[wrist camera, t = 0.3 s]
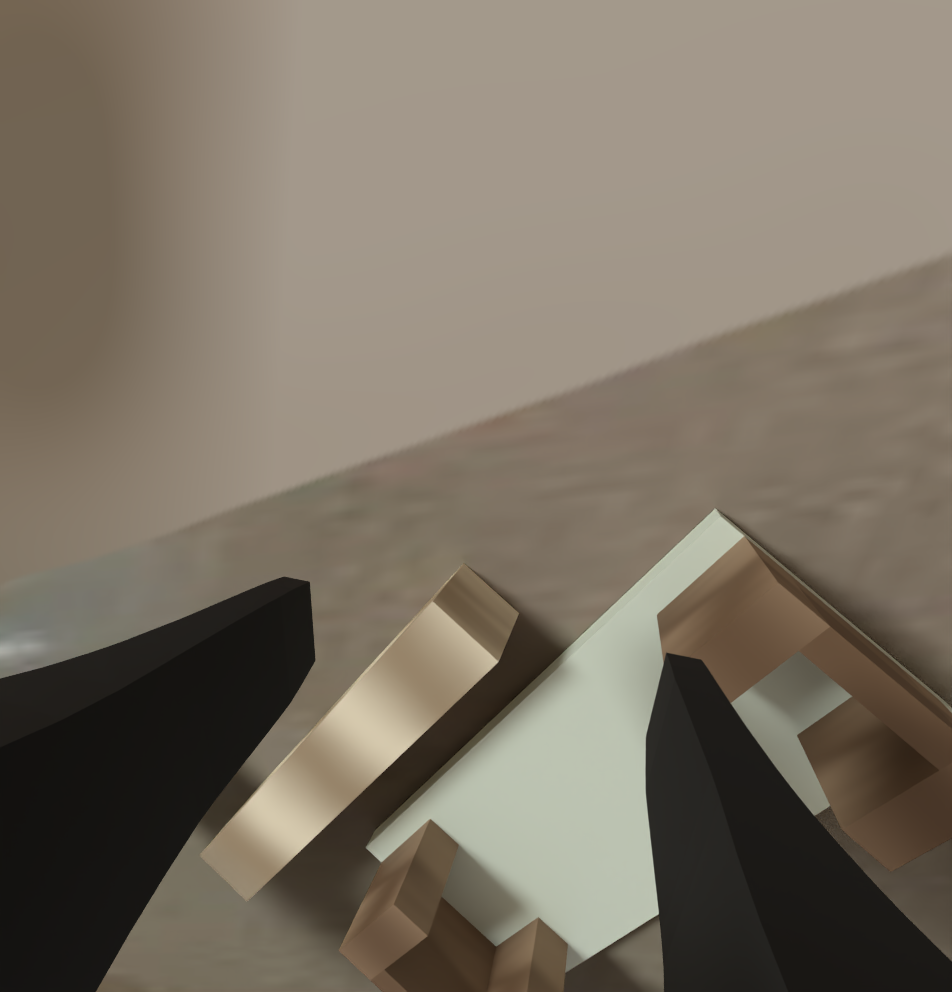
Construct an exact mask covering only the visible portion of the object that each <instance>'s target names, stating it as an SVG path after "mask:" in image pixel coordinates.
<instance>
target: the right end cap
mask: <svg viewBox="0 0 952 992" xmlns="http://www.w3.org/2000/svg"><path fill="white" fill-rule="evenodd" d="M657 621H658V628H659V635H660V642H661V649H662V656H663V663H664V660H665V656H666V653H671V654H676V655H681V656H686V657H691V658H696V659H701V660H702V661H703V662H704V664H705V665H706V666H707V668H708V669H709V671H710V672H711V674H712V675H713V677H714V679H715V680H716V682H717V683H718V685H719V686H720V688H721V689H722V691H723V692H724V694H725V695H726V697H727V698H728V700H729V701H730V703H732V702H733V701H734V700H735V699H737V698H738V697H739V696H741V695H742V694H743V693H745V692H746V691H747V690H748V689H750V688H751V687H752V686H754V685H755V684H756V683H758V682H759V681H760V680H761V679H763V678H764V677H765V676H767V675H768V674H769V673H771V672H772V671H773V670H774V669H776V668H777V667H778V666H780V665H781V664H782V663H784V662H785V661H786V660H787V659H789V658H790V657H791V656H793V655H794V654H795V653H797V652H798V651H799V652H801V653H802V654H803V655H804V656H805V657H806V658H808V659H809V660H810V661H811V662H812V663H813V664H815V665H816V666H817V667H818V668H819V669H821V670H822V671H823V672H824V673H825V674H826V675H828V676H829V677H830V678H831V679H832V680H834V681H835V682H836V683H837V684H838V685H839V686H841V687H842V688H843V689H844V690H845V691H846V692H848V693H849V694H850V695H851V696H852V697H851V698H849V699H848V700H846V701H845V702H843V703H842V704H841V705H839V706H838V707H836V708H835V709H834V710H832V711H831V712H829V713H828V714H826V715H825V716H824V717H822V718H821V719H819V720H818V721H816V722H815V723H814V724H812V725H811V726H809V727H808V728H806V729H805V730H804V731H802V732H801V733H799V734H798V735H797V737H798V739H799V741H800V743H801V745H802V747H803V749H804V751H805V754H806V756H807V758H808V760H809V762H810V764H811V766H812V768H813V770H814V772H815V775H816V777H817V779H818V781H819V783H820V785H821V787H822V789H823V791H824V793H825V796H826V798H827V800H828V802H829V804H830V806H831V808H832V810H833V812H834V814H835V817H836V819H837V821H838V823H839V825H840V827H841V829H842V830H843V831H844V832H845V833H846V834H847V835H849V836H850V837H851V838H852V839H853V840H854V841H855V842H857V843H858V844H859V845H860V846H861V847H862V848H864V849H865V850H866V851H867V852H868V853H869V854H870V855H872V856H873V857H874V858H875V859H876V860H877V861H879V862H880V863H881V864H882V865H883V866H884V867H885V868H887V869H888V870H889V871H890V872H891V871H893V870H895V869H897V868H899V867H901V866H902V865H904V864H906V863H908V862H910V861H911V860H913V859H915V858H917V857H919V856H920V855H922V854H924V853H926V852H928V851H929V850H931V849H933V848H935V847H937V846H939V845H940V844H942V843H944V842H946V841H948V840H949V839H951V838H952V713H951V712H950V711H949V710H948V708H947V707H946V706H945V705H944V704H943V703H942V702H941V701H940V700H939V699H938V698H936V697H935V696H934V695H933V694H932V693H930V692H929V691H928V690H927V689H926V688H924V687H923V686H922V685H921V684H920V683H919V682H917V681H916V680H915V679H914V678H913V677H911V676H910V675H909V674H908V673H907V672H905V671H904V670H903V669H902V668H901V667H900V666H898V665H897V664H896V663H895V662H894V661H892V660H891V659H890V658H889V657H888V656H886V655H885V654H884V653H883V652H882V651H880V650H879V649H878V648H877V647H876V646H875V645H873V644H872V643H871V642H870V641H869V640H867V639H866V638H865V637H864V636H863V635H861V634H860V633H859V632H858V631H857V630H855V629H854V628H853V627H852V626H851V625H850V624H848V623H847V622H846V621H845V620H844V619H842V618H841V617H840V616H839V615H838V614H836V613H835V612H834V611H833V610H832V609H831V608H829V607H828V606H827V605H826V604H825V603H823V602H822V601H821V600H820V599H819V598H817V597H816V596H815V595H814V594H813V593H811V592H810V591H809V590H808V589H807V588H806V587H804V586H803V585H802V584H801V583H800V582H798V581H797V580H796V579H795V578H794V577H792V576H791V575H790V574H789V573H788V572H787V571H785V570H784V569H783V568H782V567H781V566H779V565H778V564H777V563H776V562H775V561H773V560H772V559H771V558H770V557H769V556H767V555H766V554H765V553H764V552H763V551H762V550H760V549H759V548H758V547H757V546H756V545H754V544H753V543H752V542H751V541H750V540H748V539H747V538H746V537H745V536H744V537H743V538H742V539H740V540H739V541H738V542H737V543H736V544H735V545H734V546H733V547H732V548H730V549H729V550H728V551H727V552H726V553H725V554H724V555H723V556H722V557H720V558H719V559H718V560H717V561H716V562H715V563H714V564H713V565H712V566H710V567H709V568H708V569H707V570H706V571H705V572H704V573H703V574H702V575H700V576H699V577H698V578H697V579H696V580H695V581H694V582H693V583H691V584H690V585H689V586H688V587H687V588H686V589H685V590H684V591H683V592H681V593H680V594H679V595H678V596H677V597H676V598H675V599H674V600H673V601H671V602H670V603H669V604H668V605H667V606H666V607H665V608H664V609H663V610H661V611H660V612H659V613H658V614H657Z"/></svg>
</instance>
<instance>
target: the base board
mask: <svg viewBox="0 0 952 992" xmlns="http://www.w3.org/2000/svg"><path fill="white" fill-rule="evenodd" d="M744 536H745V537H746V538H747V539H748V540H750V541H751V542H752V543H753V544H754V545H756V546H757V547H758V548H759V549H760V550H762V551H763V552H764V553H765V554H766V555H767V556H769V557H770V558H771V559H772V560H773V561H775V562H776V563H777V564H778V565H779V566H781V567H782V568H783V569H784V570H785V571H787V572H788V573H789V574H790V575H791V576H792V577H794V578H795V579H796V580H797V581H798V582H800V583H801V584H802V585H803V586H804V587H806V588H807V589H808V590H809V591H810V592H811V593H813V594H814V595H815V596H816V597H817V598H819V599H820V600H821V601H822V602H823V603H825V604H826V605H827V606H828V607H829V608H831V609H832V610H833V611H834V612H835V613H836V614H838V615H839V616H840V617H841V618H842V619H844V620H845V621H846V622H847V623H848V624H850V625H851V626H852V627H853V628H854V629H855V630H857V631H858V632H859V633H860V634H861V635H863V636H864V637H865V638H866V639H867V640H869V641H870V642H871V643H872V644H873V645H875V646H876V647H877V648H878V649H879V650H880V651H882V652H883V653H884V654H885V655H886V656H888V657H889V658H890V659H891V660H892V661H894V662H895V663H896V664H897V665H898V666H900V667H901V668H902V669H903V670H904V671H905V672H907V673H908V674H909V675H910V676H911V677H913V678H914V679H915V680H916V681H917V682H919V683H920V684H921V685H922V686H923V687H924V688H926V689H927V690H928V691H929V692H930V693H932V694H933V695H934V696H935V697H936V698H938V699H939V700H940V701H941V702H942V703H943V704H944V705H945V706H946V707H947V708H948V710H949V711H950V712H951V713H952V708H951V707H950V706H949V705H948V704H947V703H946V702H945V701H944V700H943V699H942V698H940V697H939V696H938V695H937V694H936V693H935V692H933V691H932V690H931V689H930V688H929V687H927V686H926V685H925V684H924V683H923V682H921V681H920V680H919V679H918V678H917V677H915V676H914V675H913V674H912V673H911V672H910V671H908V670H907V669H906V668H905V667H904V666H902V665H901V664H900V663H899V662H898V661H896V660H895V659H894V658H893V657H892V656H890V655H889V654H888V653H887V652H886V651H885V650H883V649H882V648H881V647H880V646H879V645H877V644H876V643H875V642H874V641H873V640H871V639H870V638H869V637H868V636H867V635H865V634H864V633H863V632H862V631H861V630H860V629H858V628H857V627H856V626H855V625H854V624H852V623H851V622H850V621H849V620H848V619H846V618H845V617H844V616H843V615H842V614H840V613H839V612H838V611H837V610H836V609H835V608H833V607H832V606H831V605H830V604H829V603H827V602H826V601H825V600H824V599H823V598H821V597H820V596H819V595H818V594H817V593H815V592H814V591H813V590H812V589H811V588H810V587H808V586H807V585H806V584H805V583H804V582H802V581H801V580H800V579H799V578H798V577H796V576H795V575H794V574H793V573H792V572H791V571H789V570H788V569H787V568H786V567H785V566H783V565H782V564H781V563H780V562H779V561H777V560H776V559H775V558H774V557H773V556H771V555H770V554H769V553H768V552H767V551H766V550H764V549H763V548H762V547H761V546H760V545H758V544H757V543H756V542H755V541H754V540H752V539H751V538H750V537H749V536H748V535H746V534H745V533H744V532H743V531H742V530H741V529H739V528H738V527H737V526H736V525H735V524H733V523H732V522H731V521H730V520H729V519H727V518H726V517H725V516H724V515H723V514H721V513H720V512H719V511H718V510H717V509H716V508H715V509H714V510H713V511H712V512H711V513H710V514H709V515H708V516H707V517H706V518H705V519H704V520H703V521H702V522H701V523H700V524H698V525H697V526H696V527H695V528H694V529H693V530H692V531H691V532H690V533H689V534H688V535H687V536H686V537H685V538H684V539H683V540H682V541H681V542H679V543H678V544H677V545H676V546H675V547H674V548H673V549H672V550H671V551H670V552H669V553H668V554H667V555H666V556H665V557H664V558H663V559H661V560H660V561H659V562H658V563H657V564H656V565H655V566H654V567H653V568H652V569H651V570H650V571H649V572H648V573H647V574H646V575H645V576H643V577H642V578H641V579H640V580H639V581H638V582H637V583H636V584H635V585H634V586H633V587H632V588H631V589H630V590H629V591H628V592H627V593H625V594H624V595H623V596H622V597H621V598H620V599H619V600H618V601H617V602H616V603H615V604H614V605H613V606H612V607H611V608H610V609H609V610H608V611H606V612H605V613H604V614H603V615H602V616H601V617H600V618H599V619H598V620H597V621H596V622H595V623H594V624H593V625H592V626H591V627H590V628H588V629H587V630H586V631H585V632H584V633H583V634H582V635H581V636H580V637H579V638H578V639H577V640H576V641H575V642H574V643H573V644H572V645H570V646H569V647H568V648H567V649H566V650H565V651H564V652H563V653H562V654H561V655H560V656H559V657H558V658H557V659H556V660H555V661H554V662H553V663H551V664H550V665H549V666H548V667H547V668H546V669H545V670H544V671H543V672H542V673H541V674H540V675H539V676H538V677H537V678H536V679H535V680H533V681H532V682H531V683H530V684H529V685H528V686H527V687H526V688H525V689H524V690H523V691H522V692H521V693H520V694H519V695H518V696H517V697H515V698H514V699H513V700H512V701H511V702H510V703H509V704H508V705H507V706H506V707H505V708H504V709H503V710H502V711H501V712H500V713H499V714H497V715H496V716H495V717H494V718H493V719H492V720H491V721H490V722H489V723H488V724H487V725H486V726H485V727H484V728H483V729H482V730H481V731H480V732H478V733H477V734H476V735H475V736H474V737H473V738H472V739H471V740H470V741H469V742H468V743H467V744H466V745H465V746H464V747H463V748H462V749H460V750H459V751H458V752H457V753H456V754H455V755H454V756H453V757H452V758H451V759H450V760H449V761H448V762H447V763H446V764H445V765H444V766H442V767H441V768H440V769H439V770H438V771H437V772H436V773H435V774H434V775H433V776H432V777H431V778H430V779H429V780H428V781H427V782H426V783H424V784H423V785H422V786H421V787H420V788H419V789H418V790H417V791H416V792H415V793H414V794H413V795H412V796H411V797H410V798H409V799H408V800H407V801H405V802H404V803H403V804H402V805H401V806H400V807H399V808H398V809H397V810H396V811H395V812H394V813H393V814H392V815H391V816H390V817H389V818H387V819H386V820H385V821H384V822H383V823H382V824H381V825H380V826H379V827H378V828H377V829H376V830H375V831H374V833H373V835H372V837H371V839H370V841H369V842H368V844H367V846H366V849H367V850H369V851H370V852H371V853H372V854H373V855H374V856H375V857H376V858H377V859H378V860H379V861H381V862H382V861H384V860H385V859H386V858H387V857H388V856H389V855H390V854H391V853H392V852H394V851H395V850H396V849H397V848H398V847H399V846H400V845H401V844H402V843H404V842H405V841H406V840H407V839H408V838H409V837H410V836H411V835H412V834H414V833H415V832H416V831H417V830H418V829H419V828H420V827H421V826H422V825H424V824H425V823H426V822H427V821H428V820H429V819H431V820H432V821H433V822H435V823H436V824H437V825H438V826H439V827H440V828H441V829H442V830H443V831H444V832H445V833H447V834H448V835H449V836H450V837H451V838H452V839H453V840H454V841H455V842H456V843H458V844H459V847H458V849H457V852H456V855H455V858H454V861H453V864H452V867H451V870H450V873H449V876H448V879H447V882H446V885H445V888H444V890H443V893H442V897H443V898H444V899H445V900H446V901H447V902H448V903H449V904H450V905H451V906H453V907H454V908H455V909H456V910H457V911H458V912H459V913H460V914H461V915H462V916H463V917H465V918H466V919H467V920H468V921H469V922H470V923H471V924H472V925H473V926H474V927H475V928H476V929H478V930H479V931H480V932H481V933H482V934H483V935H484V936H485V937H486V938H487V939H488V940H490V941H491V942H492V943H493V944H494V945H495V946H498V945H499V944H501V943H502V942H503V941H505V940H506V939H508V938H509V937H511V936H512V935H513V934H515V933H516V932H518V931H519V930H521V929H522V928H523V927H525V926H526V925H528V924H529V923H531V922H532V921H533V920H535V919H536V918H538V917H539V918H540V919H541V920H542V921H543V922H544V923H545V924H547V925H548V926H549V927H550V928H551V929H552V930H553V931H554V932H555V933H556V934H557V935H559V936H560V937H561V938H562V939H563V940H564V941H565V942H566V943H567V944H568V949H567V960H566V971H565V973H566V972H567V971H569V970H571V969H572V968H574V967H575V966H577V965H579V964H580V963H582V962H583V961H585V960H586V959H588V958H590V957H591V956H593V955H594V954H596V953H598V952H599V951H601V950H602V949H604V948H606V947H607V946H609V945H610V944H612V943H613V942H615V941H617V940H618V939H620V938H621V937H623V936H625V935H626V934H628V933H629V932H631V931H632V930H634V929H636V928H637V927H639V926H640V925H642V924H644V923H645V922H647V921H648V920H650V919H652V918H653V917H655V916H656V915H658V914H659V910H658V901H657V892H656V883H655V874H654V865H653V856H652V847H651V839H650V829H649V820H648V811H647V801H646V776H645V763H646V734H647V730H648V725H649V721H650V717H651V713H652V709H653V705H654V701H655V697H656V693H657V689H658V684H659V680H660V676H661V672H662V668H663V664H664V663H663V656H662V649H661V642H660V635H659V628H658V621H657V614H658V613H659V612H660V611H661V610H663V609H664V608H665V607H666V606H667V605H668V604H669V603H670V602H671V601H673V600H674V599H675V598H676V597H677V596H678V595H679V594H680V593H681V592H683V591H684V590H685V589H686V588H687V587H688V586H689V585H690V584H691V583H693V582H694V581H695V580H696V579H697V578H698V577H699V576H700V575H702V574H703V573H704V572H705V571H706V570H707V569H708V568H709V567H710V566H712V565H713V564H714V563H715V562H716V561H717V560H718V559H719V558H720V557H722V556H723V555H724V554H725V553H726V552H727V551H728V550H729V549H730V548H732V547H733V546H734V545H735V544H736V543H737V542H738V541H739V540H740V539H742V538H743V537H744ZM851 697H852V696H851V695H850V694H849V693H848V692H846V691H845V690H844V689H843V688H842V687H841V686H839V685H838V684H837V683H836V682H835V681H834V680H832V679H831V678H830V677H829V676H828V675H826V674H825V673H824V672H823V671H822V670H821V669H819V668H818V667H817V666H816V665H815V664H813V663H812V662H811V661H810V660H809V659H808V658H806V657H805V656H804V655H803V654H802V653H801V652H799V651H798V652H797V653H795V654H794V655H793V656H791V657H790V658H789V659H787V660H786V661H785V662H784V663H782V664H781V665H780V666H778V667H777V668H776V669H774V670H773V671H772V672H771V673H769V674H768V675H767V676H765V677H764V678H763V679H761V680H760V681H759V682H758V683H756V684H755V685H754V686H752V687H751V688H750V689H748V690H747V691H746V692H745V693H743V694H742V695H741V696H739V697H738V698H737V699H735V700H734V701H733V702H732V703H731V704H732V706H733V707H734V709H735V710H736V712H737V713H738V715H739V716H740V718H741V719H742V721H743V722H744V724H745V725H746V726H747V728H748V729H749V731H750V732H751V734H752V735H753V736H754V738H755V739H756V741H757V742H758V743H759V745H760V746H761V747H762V749H763V750H764V752H765V753H766V754H767V756H768V757H769V758H770V760H771V761H772V763H773V764H774V765H775V767H776V768H777V769H778V771H779V772H780V773H781V775H782V776H783V777H784V779H785V780H786V781H787V782H788V784H789V785H790V786H791V788H792V789H793V790H794V791H795V793H796V794H797V795H798V796H799V798H800V799H801V800H802V801H803V803H804V804H805V805H806V806H807V808H808V809H809V810H810V811H811V812H812V814H813V815H814V816H815V815H817V814H818V813H820V812H821V811H823V810H825V809H826V808H828V807H829V806H830V804H829V802H828V800H827V798H826V796H825V793H824V791H823V789H822V787H821V785H820V783H819V781H818V779H817V777H816V775H815V772H814V770H813V768H812V766H811V764H810V762H809V760H808V758H807V756H806V754H805V751H804V749H803V747H802V745H801V743H800V741H799V739H798V737H797V735H798V734H799V733H801V732H802V731H804V730H805V729H806V728H808V727H809V726H811V725H812V724H814V723H815V722H816V721H818V720H819V719H821V718H822V717H824V716H825V715H826V714H828V713H829V712H831V711H832V710H834V709H835V708H836V707H838V706H839V705H841V704H842V703H843V702H845V701H846V700H848V699H849V698H851Z"/></svg>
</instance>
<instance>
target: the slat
mask: <svg viewBox="0 0 952 992" xmlns="http://www.w3.org/2000/svg"><path fill="white" fill-rule="evenodd" d="M518 615H519V613H518V612H517V611H516V610H515V609H514V608H513V607H512V606H510V605H509V604H508V603H507V602H506V601H505V600H504V599H503V598H502V597H500V596H499V595H498V594H497V593H496V592H495V591H494V590H493V589H492V588H491V587H489V586H488V585H487V584H486V583H485V582H484V581H483V580H482V579H481V578H480V577H478V576H477V575H476V574H475V573H474V572H473V571H472V570H471V569H470V568H469V567H467V566H466V565H465V564H464V563H463V564H462V565H461V567H460V568H459V569H458V570H457V571H456V572H455V573H454V574H453V575H452V576H451V577H450V579H449V580H448V581H447V582H446V583H445V584H444V585H443V586H442V587H441V588H440V589H439V591H438V592H437V593H436V594H435V595H434V596H433V597H432V598H431V599H430V600H429V602H428V603H427V604H426V605H425V606H424V607H423V608H422V609H421V610H420V611H419V612H418V614H417V615H416V616H415V617H414V618H413V619H412V620H411V621H410V622H409V623H408V624H407V626H406V627H405V628H404V629H403V630H402V631H401V632H400V633H399V634H398V635H397V637H396V638H395V639H394V640H393V641H392V642H391V643H390V644H389V645H388V646H387V647H386V649H385V650H384V651H383V652H382V653H381V654H380V655H379V656H378V657H377V658H376V659H375V661H374V662H373V663H372V664H371V665H370V666H369V667H368V668H367V669H366V670H365V671H364V673H363V674H362V675H361V676H360V677H359V678H358V679H357V680H356V681H355V682H354V684H353V685H352V686H351V687H350V688H349V689H348V690H347V691H346V692H345V693H344V694H343V696H342V697H341V698H340V699H339V700H338V701H337V702H336V703H335V704H334V705H333V706H332V708H331V709H330V710H329V711H328V712H327V713H326V714H325V715H324V716H323V717H322V719H321V720H320V721H319V722H318V723H317V724H316V725H315V726H314V727H313V728H312V729H311V731H310V732H309V733H308V734H307V735H306V736H305V737H304V738H303V739H302V740H301V741H300V743H299V744H298V745H297V746H296V747H295V748H294V749H293V750H292V751H291V752H290V754H289V755H288V756H287V757H286V758H285V759H284V760H283V761H282V762H281V763H280V764H279V766H278V767H277V768H276V769H275V770H274V771H273V772H272V773H271V774H270V775H269V776H268V778H267V779H266V780H265V781H264V782H263V783H262V784H261V785H260V786H259V787H258V789H257V790H256V791H255V792H254V793H253V794H252V795H251V796H250V797H249V799H248V800H247V801H246V802H245V803H244V804H243V806H242V807H241V808H240V809H239V810H238V811H237V812H236V814H235V815H234V816H233V817H232V818H231V819H230V820H229V822H228V823H227V824H226V825H225V826H224V827H223V829H222V830H221V831H220V832H219V833H218V834H217V835H216V837H215V838H214V839H213V840H212V841H211V842H210V843H209V845H208V846H207V847H206V848H205V849H204V850H203V852H202V853H201V854H200V855H199V856H201V857H202V858H203V859H204V860H205V861H206V862H207V863H208V864H209V865H210V866H211V867H212V868H213V869H214V870H215V871H216V872H217V873H218V874H219V875H220V876H221V877H222V878H223V879H224V880H225V881H226V882H227V883H228V884H229V885H230V886H231V887H232V888H233V889H235V890H236V891H237V892H238V893H239V894H240V895H241V896H242V897H243V898H244V899H245V900H246V901H248V900H249V899H250V898H251V897H252V896H254V895H255V894H256V893H257V892H258V891H259V890H260V889H261V888H262V887H263V886H264V885H265V884H266V883H267V882H268V881H269V880H270V879H271V878H272V877H273V876H274V875H276V874H277V873H278V872H279V871H280V870H281V869H282V868H283V867H284V866H285V865H286V864H287V863H288V862H289V861H290V860H291V859H292V858H293V857H294V856H295V855H297V854H298V853H299V852H300V851H301V850H302V849H303V848H304V847H305V846H306V845H307V844H308V843H309V842H310V841H311V840H312V839H313V838H314V837H315V836H316V835H318V834H319V833H320V832H321V831H322V830H323V829H324V828H325V827H326V826H327V825H328V824H329V823H330V822H331V821H332V820H333V819H334V818H335V817H336V816H337V815H338V814H340V813H341V812H342V811H343V810H344V809H345V808H346V807H347V806H348V805H349V804H350V803H351V802H352V801H353V800H354V799H355V798H356V797H357V796H358V795H359V794H361V793H362V792H363V791H364V790H365V789H366V788H367V787H368V786H369V785H370V784H371V783H372V782H373V781H374V780H375V779H376V778H377V777H378V776H379V775H380V774H382V773H383V772H384V771H385V770H386V769H387V768H388V767H389V766H390V765H391V764H392V763H393V762H394V761H395V760H396V759H397V758H398V757H399V756H400V755H401V754H402V753H404V752H405V751H406V750H407V749H408V748H409V747H410V746H411V745H412V744H413V743H414V742H415V741H416V740H417V739H418V738H419V737H420V736H421V735H422V734H423V733H425V732H426V731H427V730H428V729H429V728H430V727H431V726H432V725H433V724H434V723H435V722H436V721H437V720H438V719H439V718H440V717H441V716H442V715H443V714H444V713H446V712H447V711H448V710H449V709H450V708H451V707H452V706H453V705H454V704H455V703H456V702H457V701H458V700H459V699H460V698H461V697H462V696H463V695H464V694H465V693H466V692H468V691H469V690H470V689H471V688H472V687H473V686H474V685H475V684H476V683H477V682H478V681H479V680H480V679H481V678H482V677H483V676H484V675H485V674H486V673H487V672H489V671H490V670H491V669H492V668H493V667H494V666H495V665H496V664H497V663H498V662H499V660H500V658H501V655H502V653H503V650H504V648H505V646H506V643H507V641H508V639H509V636H510V634H511V631H512V629H513V627H514V624H515V622H516V620H517V617H518Z"/></svg>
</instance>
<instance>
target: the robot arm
mask: <svg viewBox="0 0 952 992" xmlns="http://www.w3.org/2000/svg"><path fill="white" fill-rule="evenodd" d="M314 662H315V649H314V635H313V621H312V607H311V593H310V582H308V581H303V580H298V579H293V578H288V577H282V578H279V579H276V580H273V581H270V582H267V583H265V584H262V585H260V586H257V587H255V588H252V589H250V590H248V591H245V592H243V593H241V594H238V595H236V596H234V597H231V598H229V599H227V600H224V601H222V602H219V603H217V604H215V605H212V606H210V607H208V608H205V609H203V610H201V611H198V612H196V613H194V614H191V615H189V616H187V617H184V618H182V619H179V620H177V621H174V622H172V623H169V624H166V625H164V626H161V627H159V628H156V629H154V630H151V631H149V632H146V633H143V634H141V635H138V636H136V637H133V638H131V639H128V640H125V641H123V642H120V643H117V644H114V645H112V646H109V647H106V648H103V649H100V650H97V651H94V652H91V653H88V654H85V655H82V656H78V657H75V658H72V659H69V660H66V661H63V662H59V663H56V664H53V665H49V666H46V667H43V668H39V669H35V670H32V671H28V672H24V673H20V674H16V675H12V676H9V677H5V678H1V679H0V992H96V990H97V989H98V987H99V985H100V983H101V982H102V980H103V978H104V976H105V975H106V973H107V971H108V970H109V968H110V966H111V964H112V963H113V961H114V959H115V957H116V956H117V954H118V952H119V950H120V949H121V947H122V945H123V943H124V942H125V940H126V938H127V937H128V935H129V933H130V931H131V930H132V928H133V927H134V925H135V923H136V922H137V920H138V918H139V917H140V915H141V913H142V912H143V910H144V909H145V907H146V905H147V904H148V902H149V900H150V899H151V897H152V895H153V894H154V892H155V891H156V889H157V887H158V886H159V884H160V882H161V881H162V879H163V877H164V876H165V874H166V873H167V871H168V870H169V868H170V866H171V865H172V863H173V862H174V860H175V859H176V857H177V856H178V854H179V853H180V851H181V849H182V848H183V846H184V845H185V843H186V842H187V840H188V839H189V837H190V835H191V834H192V832H193V831H194V829H195V828H196V826H197V825H198V823H199V822H200V820H201V819H202V817H203V816H204V815H205V813H206V812H207V811H208V809H209V808H210V806H211V805H212V804H213V802H214V801H215V799H216V798H217V797H218V796H219V794H220V793H221V792H222V790H223V789H224V788H225V787H226V785H227V784H228V783H229V781H230V780H231V779H232V778H233V776H234V775H235V774H236V773H237V771H238V770H239V769H240V767H241V766H242V765H243V764H244V762H245V761H246V760H247V758H248V757H249V756H250V755H251V753H252V752H253V751H254V750H255V748H256V747H257V746H258V744H259V743H260V742H261V741H262V739H263V738H264V737H265V736H266V734H267V733H268V732H269V730H270V729H271V728H272V726H273V725H274V724H275V722H276V721H277V720H278V719H279V717H280V716H281V715H282V713H283V712H284V711H285V709H286V708H287V707H288V705H289V704H290V703H291V701H292V699H293V698H294V696H295V695H296V693H297V691H298V690H299V688H300V686H301V685H302V683H303V681H304V680H305V678H306V676H307V674H308V672H309V671H310V669H311V667H312V665H313V664H314ZM645 776H646V801H647V811H648V820H649V829H650V839H651V847H652V856H653V865H654V874H655V883H656V892H657V901H658V910H659V919H660V928H661V939H662V952H663V965H664V992H952V961H951V960H950V959H949V958H948V957H946V956H945V955H944V954H943V953H942V952H941V951H940V950H939V949H938V948H937V947H936V946H935V945H934V944H933V943H932V942H931V941H930V940H929V939H928V938H927V937H926V936H925V935H924V934H923V933H922V932H921V931H920V930H919V929H918V928H917V927H916V926H915V925H914V924H913V923H912V922H911V921H910V920H909V919H908V918H907V917H906V916H905V915H904V914H903V913H902V912H901V911H900V910H899V909H898V908H897V907H896V906H895V905H894V904H893V902H892V901H891V900H890V899H889V898H888V897H887V896H886V895H885V894H884V893H883V892H882V891H881V890H880V889H879V888H878V887H877V886H876V885H875V884H874V883H873V881H872V880H871V879H870V878H869V877H868V876H867V875H866V874H865V873H864V872H863V870H862V869H861V868H860V867H859V866H858V865H857V864H856V863H855V862H854V861H853V859H852V858H851V857H850V856H849V855H848V854H847V853H846V852H845V851H844V849H843V848H842V847H841V846H840V845H839V844H838V843H837V842H836V841H835V840H834V838H833V837H832V836H831V835H830V834H829V833H828V831H827V830H826V829H825V828H824V827H823V826H822V824H821V823H820V822H819V821H818V820H817V819H816V817H815V816H814V815H813V814H812V812H811V811H810V810H809V809H808V808H807V806H806V805H805V804H804V803H803V801H802V800H801V799H800V798H799V796H798V795H797V794H796V793H795V791H794V790H793V789H792V788H791V786H790V785H789V784H788V782H787V781H786V780H785V779H784V777H783V776H782V775H781V773H780V772H779V771H778V769H777V768H776V767H775V765H774V764H773V763H772V761H771V760H770V758H769V757H768V756H767V754H766V753H765V752H764V750H763V749H762V747H761V746H760V745H759V743H758V742H757V741H756V739H755V738H754V736H753V735H752V734H751V732H750V731H749V729H748V728H747V726H746V725H745V724H744V722H743V721H742V719H741V718H740V716H739V715H738V713H737V712H736V710H735V709H734V707H733V706H732V704H731V703H730V701H729V700H728V698H727V697H726V695H725V694H724V692H723V691H722V689H721V688H720V686H719V685H718V683H717V682H716V680H715V679H714V677H713V675H712V674H711V672H710V671H709V669H708V668H707V666H706V665H705V664H704V662H703V661H702V660H701V659H696V658H691V657H686V656H681V655H676V654H671V653H666V656H665V660H664V664H663V668H662V672H661V676H660V680H659V684H658V689H657V693H656V697H655V701H654V705H653V709H652V713H651V717H650V721H649V725H648V730H647V734H646V763H645Z"/></svg>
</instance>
